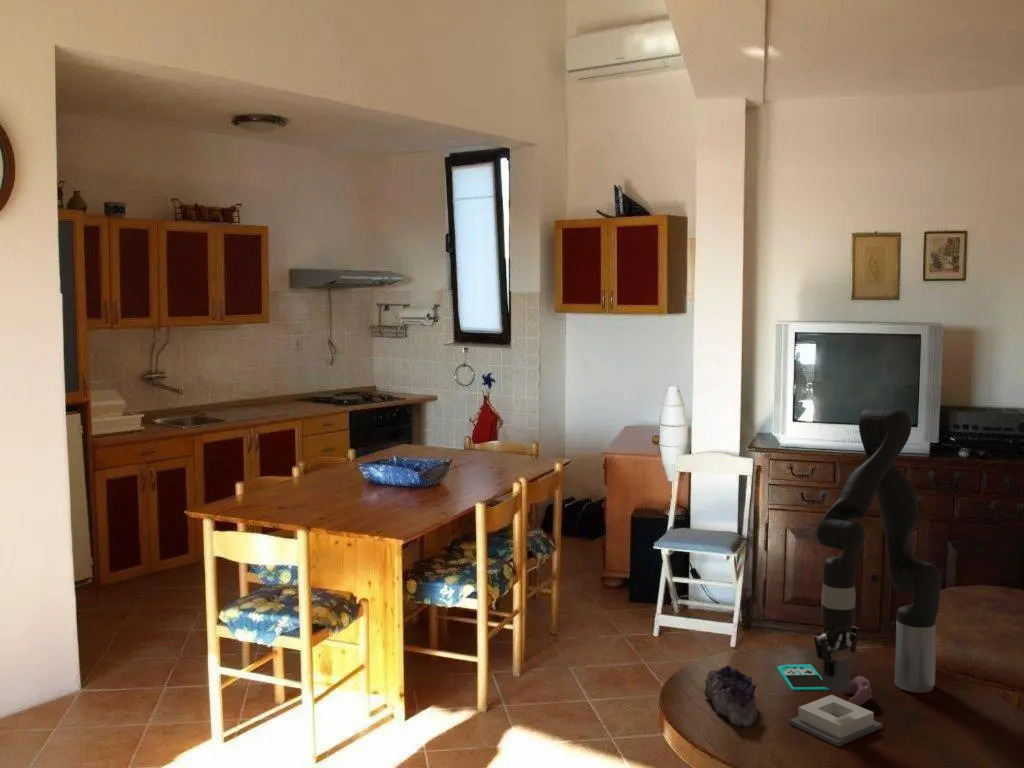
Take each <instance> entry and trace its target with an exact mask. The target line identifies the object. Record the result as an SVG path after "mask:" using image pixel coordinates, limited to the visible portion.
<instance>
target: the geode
mask: <svg viewBox="0 0 1024 768" xmlns="http://www.w3.org/2000/svg"><path fill="white" fill-rule="evenodd" d="M704 682H705V685H704V688H705V689H704V692H703V693H704V695H705V698H707V699H709V700H710V702H711V704H712V707H713V709H714V710H715V713H716V715H718V716H723V717H725V718H726V719H727V720H728V721H729V724H730V725H731V726H733V727H737V728H741V729H749V728H751V727H752V726H753V725H754V724H755V723H757V720H758V712H757V710H758V709H757V703H756V695H755V690H756V688H757V684H753V679H752V677H751V676H748V675H747V674H744V673H742V672H740V670H739V669H737V668H732V667H731V666H730V665H729V664H727V665H726V666H724V667H721V668H720V669H718V670H710V671H709V672H708V673H707V676H706V679H705V680H704Z"/></svg>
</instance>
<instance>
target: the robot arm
mask: <svg viewBox="0 0 1024 768" xmlns="http://www.w3.org/2000/svg"><path fill="white" fill-rule="evenodd" d="M858 431H859V436H860V441H861V444H862V446H863V450H864V453H865V455H866V459H867V460H865V462H863V463H862V464H861V465H859V466H858V467H857V468H856V469H855V470H854V471H853V472H852V473H851V474H850V475H849V476H848V478H847V479H846V482H845V483H844V486H843V488H842V490H841V492H840V494H839V497H838V499H837V500H836V501H835V502H834V504H833V505H832V506H831V507H830V508H829V509H828V510H827V511H826V513H825V514H824V515H823V516H822V517H821V518H820V520H819V521H818V524H817V526H816V532H815V534H816V540H817V541H818V543H819V544H820V545H822V546H824V547H826V548H827V547H828V548H831V549H836V550H837V549H838V550H842V552H843V553H842V555H841V556H831V557H828V558H826V559H825V560H824V562H823V572H822V573H823V575H822V580H823V581H822V588H821V600H820V602H821V604H820V605H821V606H820V620H821V622H822V624H823V625H824V626H823V631H822V634H820V635H814V636H813V637H814V638H813V639H814V644H815V652H816V656H817V659H820V660H822V661H823V660H824V673H825V675H826V676H828V677H834V659H835V653H836V652H837V650H839V646H840V645H845V646H847V647H848V646H850V647H851V654H852V653H855V652H856V649H857V645H858V641H859V636H860V632H861V631H860V630H861V628H860V627H857V626H855V621H856V620H855V619H856V586H855V585H856V569H857V568H856V567H857V564H858V559H859V557H860V554H861V550H862V548H863V544H864V542H865V537H866V536H865V535H866V534H865V529H864V528H863V526H862V524H861V523H859V522H858V521H855V520H854V519H856V520H857V519H861V518H863V517H865V516H866V515H867V513H868V511H869V510H870V509H869V508H870V506H871V504H872V502H873V500H874V497H875V494H876V499H877V500H876V502H877V505H878V510H879V513H880V517H881V521H882V525H883V531H884V536H885V542H886V543H885V544H886V548H887V550H886V551H887V558H888V568H889V569H888V570H889V575H890V580H891V584H892V585H893V588H895V589H896V590H897V591H898V592H900V593H903V594H906V595H908V596H909V595H910V596H913V600H912V604H908V605H903V606H899V608H898V609H897V611H896V628H895V658H894V660H895V664H894V685H895V686H896V687H897V688H899V689H900V690H903V691H906V692H910V693H917V694H925V693H929V692H932V691H933V690H934V686H935V685H936V660H937V650H936V649H935V648H936V646H935V645H936V618H937V616H938V613H939V608H940V598H941V586H942V575H941V571H940V569H939V567H938V566H937V565H935V564H934V563H930V562H927V561H924V560H920V559H917V558H915V557H914V556H913V553H912V549H911V536H912V534H913V532H914V529H915V528H916V526H917V524H918V522H919V518H920V508H919V503H918V497H917V492H916V490H915V488H914V485H913V484H912V483H911V481H910V480H909V479H908V477H907V476H906V474H904V473H903V471H901V470H900V468H899V467H898V466H897V465H896V463H895V461H896V460H897V458H898V457H899V455H900V453H901V452H902V450H903V449H904V448H905V446H906V444H907V442H908V440H909V438H910V435H911V434H912V433H911V431H912V420H911V417H910V415H909V414H908V412H906V411H905V410H903V409H898V408H897V409H896V408H876V407H875V408H866V409H865V410H863V411H862V412H861V413H860V416H859V419H858ZM851 642H852V643H851ZM829 645H831V646H833V647H834V648H831V647H828V646H829ZM828 650H829V651H831V654H830V656H829V653H828Z"/></svg>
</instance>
